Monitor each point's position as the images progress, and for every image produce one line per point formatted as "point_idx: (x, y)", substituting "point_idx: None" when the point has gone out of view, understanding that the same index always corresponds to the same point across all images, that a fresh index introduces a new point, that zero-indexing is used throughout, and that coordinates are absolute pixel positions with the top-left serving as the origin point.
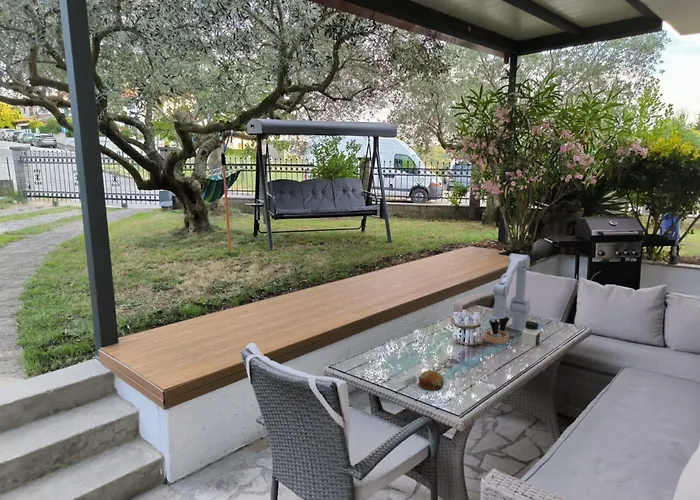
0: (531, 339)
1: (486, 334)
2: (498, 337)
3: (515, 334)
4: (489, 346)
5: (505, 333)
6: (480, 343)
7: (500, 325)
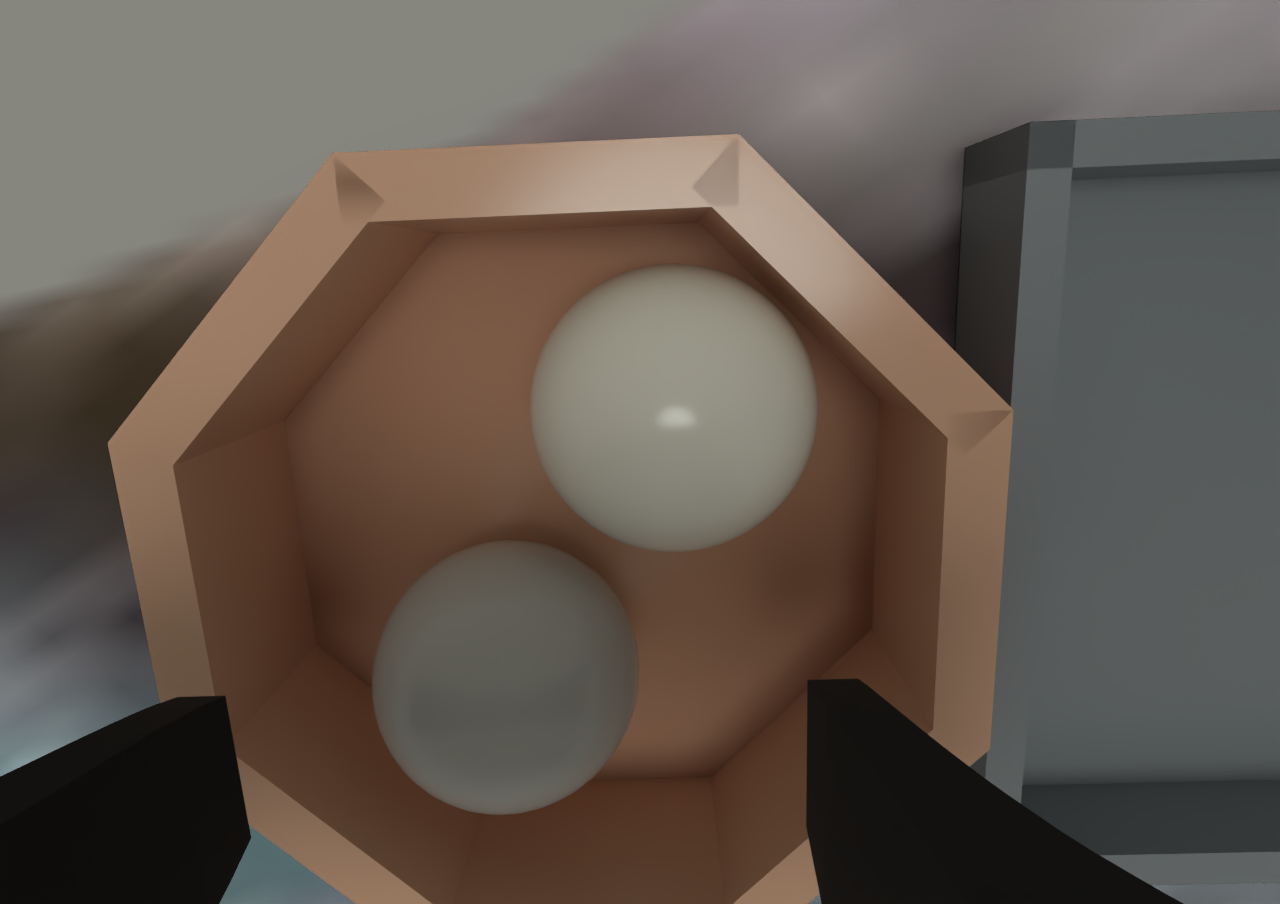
0: None
1: (174, 397)
2: (281, 841)
3: (1207, 865)
4: (44, 648)
5: None
6: (4, 364)
7: (878, 829)
